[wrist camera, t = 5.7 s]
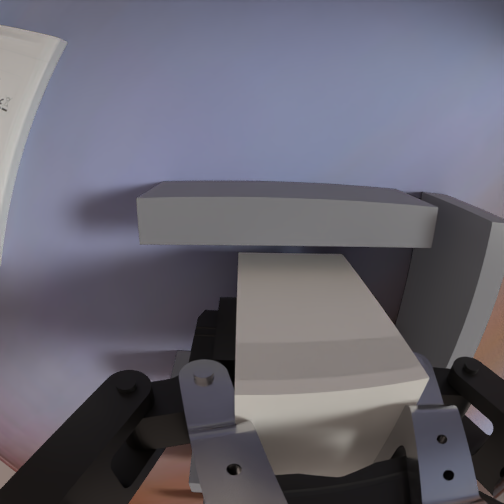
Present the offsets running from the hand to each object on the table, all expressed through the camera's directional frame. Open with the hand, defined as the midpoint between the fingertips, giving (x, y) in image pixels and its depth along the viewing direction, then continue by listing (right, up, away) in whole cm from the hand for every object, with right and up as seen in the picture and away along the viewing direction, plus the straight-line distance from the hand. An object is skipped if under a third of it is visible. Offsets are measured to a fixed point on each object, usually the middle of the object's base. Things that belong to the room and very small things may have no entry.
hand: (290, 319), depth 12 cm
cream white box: (0, 0, +1) cm, 1 cm away
